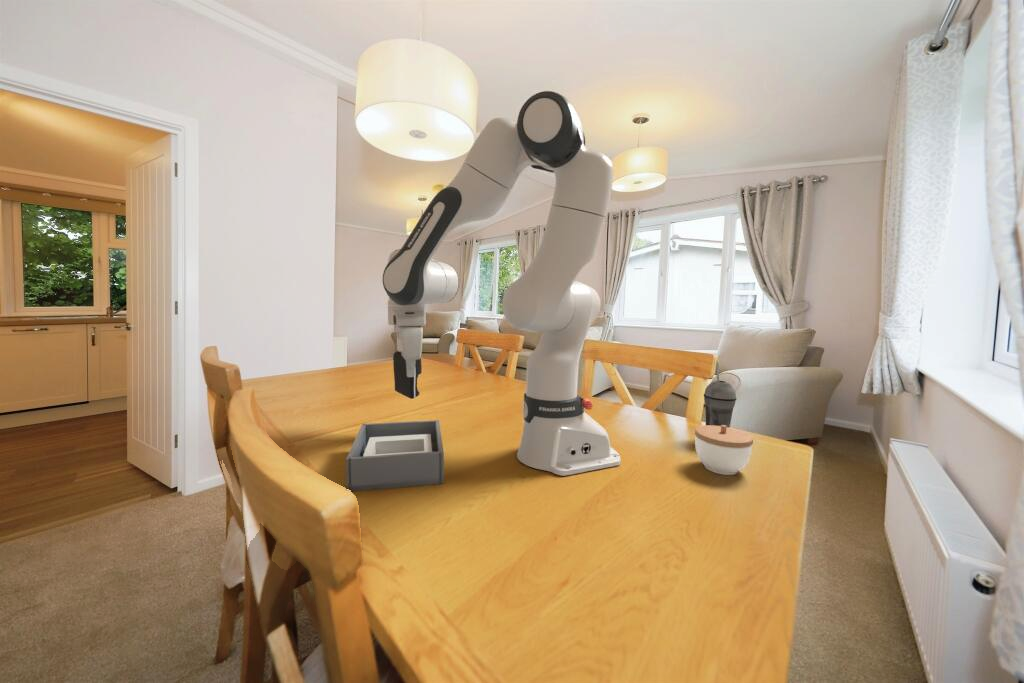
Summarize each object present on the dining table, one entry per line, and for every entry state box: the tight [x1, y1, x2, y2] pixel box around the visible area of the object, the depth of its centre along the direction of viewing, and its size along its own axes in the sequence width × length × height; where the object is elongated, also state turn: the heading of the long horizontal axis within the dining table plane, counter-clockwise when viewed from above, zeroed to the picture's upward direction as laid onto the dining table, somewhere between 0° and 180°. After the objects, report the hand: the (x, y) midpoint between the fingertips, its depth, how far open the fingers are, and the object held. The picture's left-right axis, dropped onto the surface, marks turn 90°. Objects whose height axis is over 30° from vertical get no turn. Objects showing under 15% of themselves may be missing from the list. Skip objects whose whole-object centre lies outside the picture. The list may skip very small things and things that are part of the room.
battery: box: [392, 350, 423, 400], centre depth 96 cm, size 7×4×11 cm, turn 58°
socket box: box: [345, 419, 445, 492], centre depth 81 cm, size 17×20×6 cm
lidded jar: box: [694, 424, 754, 476], centre depth 82 cm, size 11×11×9 cm
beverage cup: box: [703, 362, 738, 428], centre depth 97 cm, size 7×7×20 cm
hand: (408, 374), depth 96 cm, fingers closed on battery, 7 cm apart
